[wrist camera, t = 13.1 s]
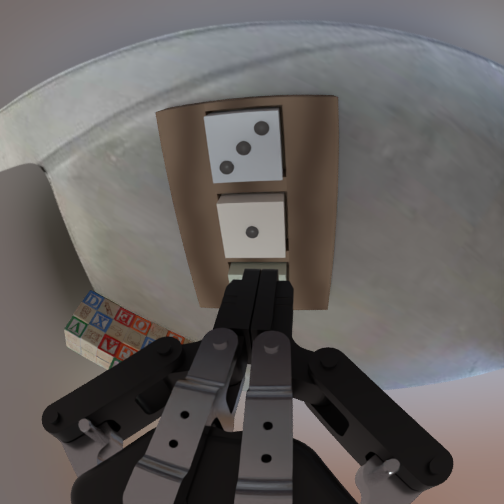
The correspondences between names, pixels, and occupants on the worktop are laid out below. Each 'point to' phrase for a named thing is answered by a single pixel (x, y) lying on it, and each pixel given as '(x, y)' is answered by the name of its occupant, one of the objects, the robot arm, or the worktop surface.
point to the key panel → (293, 184)
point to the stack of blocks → (110, 331)
